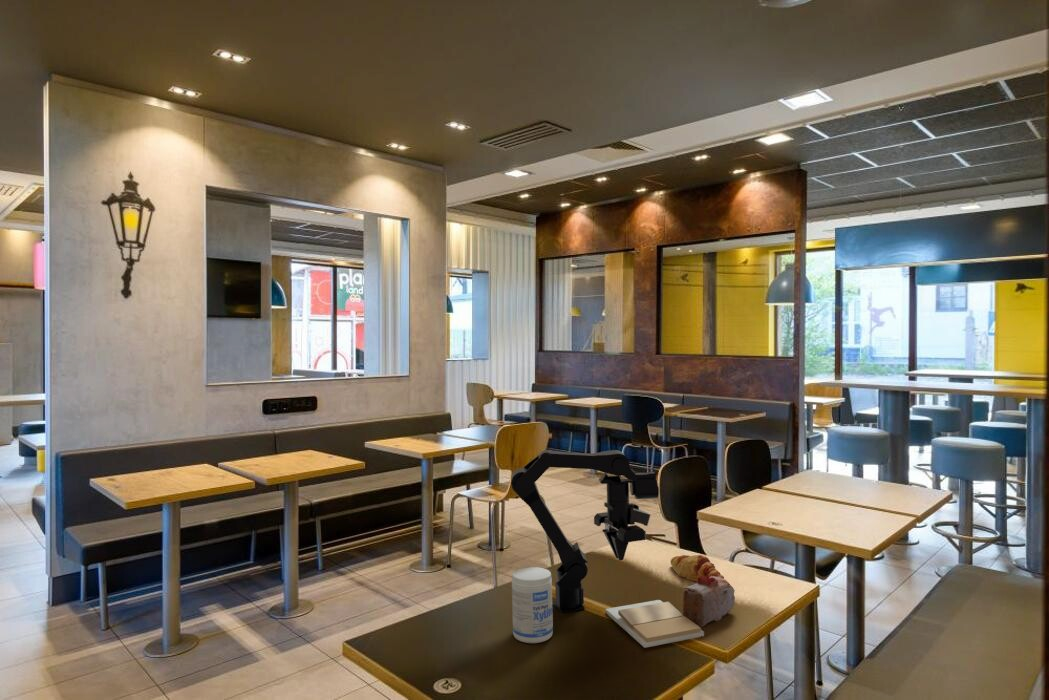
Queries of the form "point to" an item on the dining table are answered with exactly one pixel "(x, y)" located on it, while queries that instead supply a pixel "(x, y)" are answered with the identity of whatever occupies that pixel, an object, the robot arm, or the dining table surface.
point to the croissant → (694, 567)
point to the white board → (657, 627)
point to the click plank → (649, 613)
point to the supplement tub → (532, 604)
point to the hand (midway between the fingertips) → (619, 559)
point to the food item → (708, 600)
